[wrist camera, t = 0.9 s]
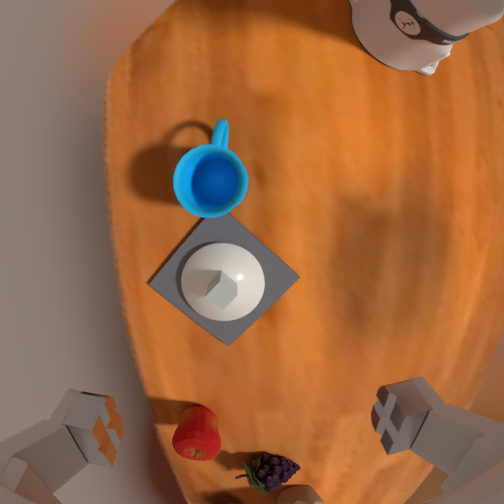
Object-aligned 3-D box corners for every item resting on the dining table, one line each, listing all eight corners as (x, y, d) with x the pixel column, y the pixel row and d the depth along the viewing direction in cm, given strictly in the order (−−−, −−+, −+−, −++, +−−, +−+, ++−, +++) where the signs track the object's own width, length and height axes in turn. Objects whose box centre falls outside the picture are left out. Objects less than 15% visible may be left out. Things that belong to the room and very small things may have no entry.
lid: (218, 224, 41) (216, 232, 37) (281, 278, 44) (286, 292, 39) (166, 284, 44) (158, 298, 39) (227, 331, 46) (226, 349, 41)
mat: (217, 203, 41) (217, 204, 41) (299, 276, 45) (300, 277, 44) (149, 283, 44) (148, 284, 43) (228, 344, 48) (228, 346, 47)
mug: (244, 215, 41) (240, 222, 33) (185, 207, 41) (168, 213, 33) (257, 129, 38) (256, 115, 30) (198, 122, 38) (183, 108, 30)
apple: (176, 421, 53) (168, 465, 42) (180, 395, 51) (171, 441, 39) (217, 429, 54) (215, 474, 43) (225, 403, 52) (224, 451, 40)
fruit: (287, 456, 62) (230, 470, 58) (294, 438, 58) (230, 454, 53) (302, 488, 54) (241, 504, 49) (312, 474, 49) (243, 493, 45)
